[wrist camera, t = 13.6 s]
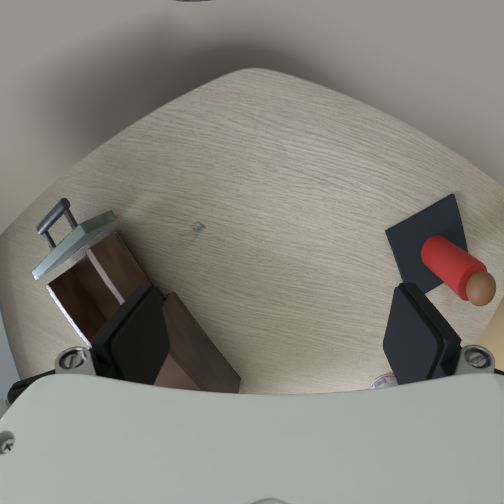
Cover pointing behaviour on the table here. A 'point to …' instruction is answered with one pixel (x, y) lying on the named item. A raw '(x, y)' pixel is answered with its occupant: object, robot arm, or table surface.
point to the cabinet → (192, 355)
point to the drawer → (89, 271)
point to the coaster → (415, 235)
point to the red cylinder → (459, 270)
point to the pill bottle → (384, 381)
